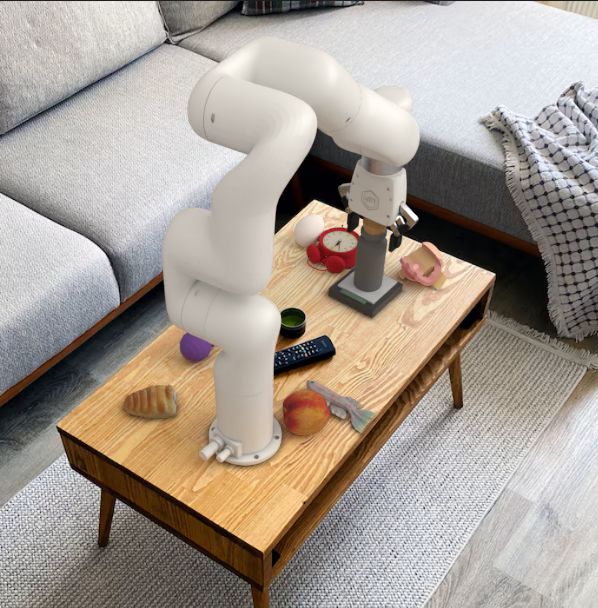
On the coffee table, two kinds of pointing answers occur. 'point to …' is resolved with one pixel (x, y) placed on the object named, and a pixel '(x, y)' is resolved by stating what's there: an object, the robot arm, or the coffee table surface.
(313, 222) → the egg
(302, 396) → the fruit
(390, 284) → the scale
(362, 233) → the bottle
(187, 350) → the kendama
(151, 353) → the coffee table surface
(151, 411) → the pastry
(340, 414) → the fish
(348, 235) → the alarm clock
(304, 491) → the coffee table surface
